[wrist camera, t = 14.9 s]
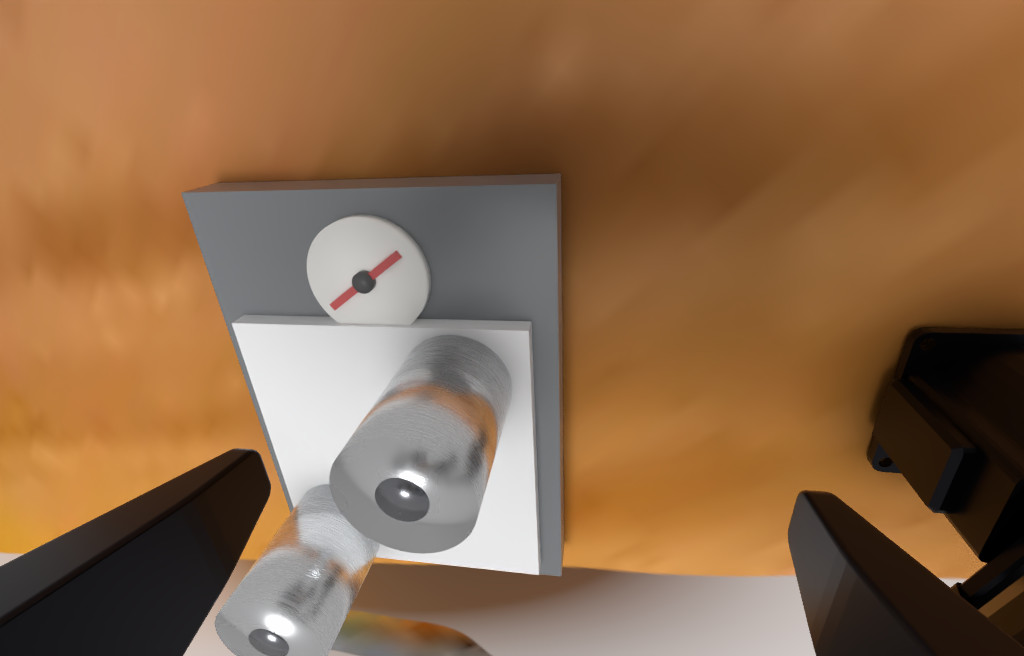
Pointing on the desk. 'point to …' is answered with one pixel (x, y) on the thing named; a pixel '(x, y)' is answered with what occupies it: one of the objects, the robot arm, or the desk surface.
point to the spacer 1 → (299, 584)
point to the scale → (398, 325)
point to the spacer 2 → (426, 448)
